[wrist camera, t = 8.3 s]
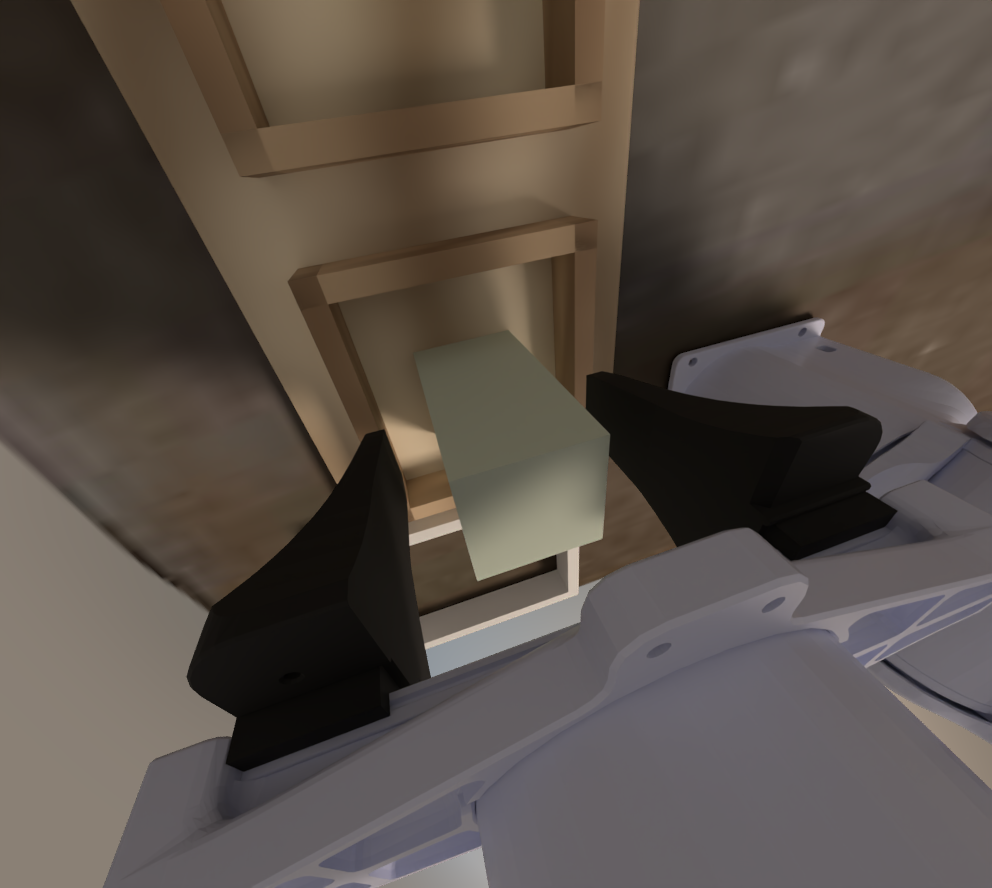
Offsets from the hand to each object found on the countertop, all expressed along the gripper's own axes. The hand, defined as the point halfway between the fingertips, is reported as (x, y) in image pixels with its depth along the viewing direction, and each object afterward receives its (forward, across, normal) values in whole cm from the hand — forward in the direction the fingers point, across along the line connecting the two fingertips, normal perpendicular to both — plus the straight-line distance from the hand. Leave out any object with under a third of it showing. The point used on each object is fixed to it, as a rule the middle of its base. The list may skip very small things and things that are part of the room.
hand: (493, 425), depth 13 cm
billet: (+4, 0, 0) cm, 4 cm away
